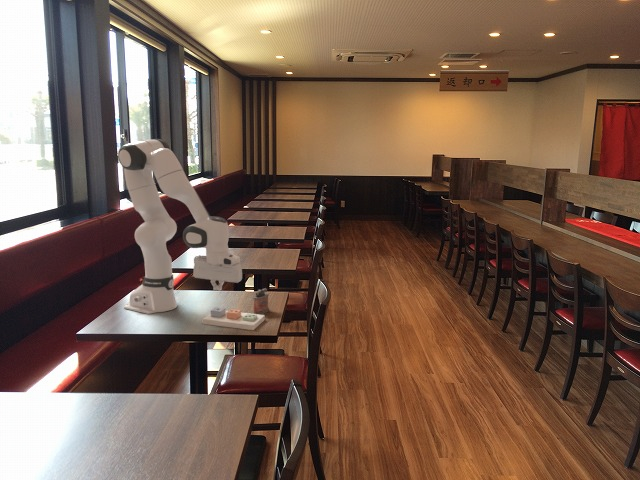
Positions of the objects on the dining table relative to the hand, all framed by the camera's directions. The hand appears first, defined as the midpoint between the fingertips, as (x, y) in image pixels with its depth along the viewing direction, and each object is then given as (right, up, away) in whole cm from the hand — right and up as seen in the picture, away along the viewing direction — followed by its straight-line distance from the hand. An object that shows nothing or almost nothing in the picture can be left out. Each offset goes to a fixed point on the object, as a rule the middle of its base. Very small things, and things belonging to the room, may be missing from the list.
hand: (217, 290), depth 207 cm
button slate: (0, -11, +2) cm, 11 cm away
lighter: (+16, -11, +12) cm, 23 cm away
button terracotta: (+7, -11, 0) cm, 13 cm away
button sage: (+13, -13, -2) cm, 19 cm away
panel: (+7, -13, 0) cm, 14 cm away
